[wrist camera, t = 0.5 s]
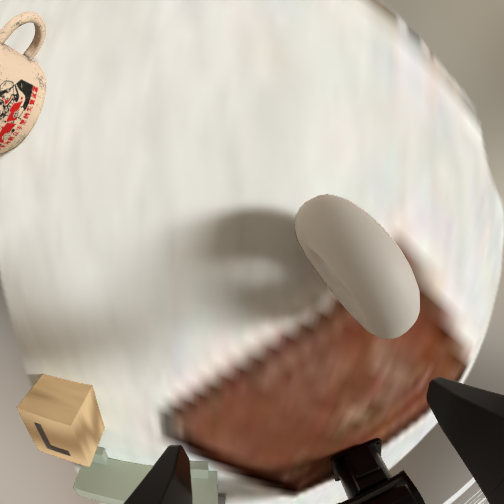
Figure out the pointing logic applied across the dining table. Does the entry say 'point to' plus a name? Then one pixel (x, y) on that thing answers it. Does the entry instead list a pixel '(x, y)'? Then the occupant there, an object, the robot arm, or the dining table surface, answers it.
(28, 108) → the teacup with lid
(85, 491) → the sage screen
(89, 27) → the dining table surface
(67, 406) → the marked cube
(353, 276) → the donut
